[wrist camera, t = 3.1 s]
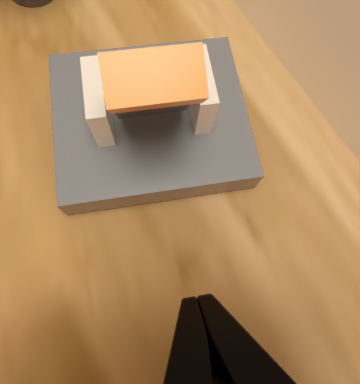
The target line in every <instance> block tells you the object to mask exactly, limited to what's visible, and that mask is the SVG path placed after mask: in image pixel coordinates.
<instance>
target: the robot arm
mask: <svg viewBox="0 0 360 384" xmlns="http://www.w3.org/2000/svg"><path fill="white" fill-rule="evenodd" d="M163 384H296V383H295V381H294V380H293V379H292V378H291V377H290V376H289V375H288V374H287V373H286V372H285V371H284V370H283V369H282V368H281V367H280V366H279V365H278V364H277V362H276V361H275V360H274V359H273V358H272V357H271V356H270V355H269V354H268V353H267V352H266V351H265V350H264V349H263V348H262V347H261V346H260V344H259V343H258V342H257V341H256V340H255V339H254V338H253V337H252V336H251V335H250V334H249V333H248V332H247V331H246V330H245V329H244V328H243V327H242V325H241V324H240V323H239V322H238V321H237V320H236V319H235V318H234V317H233V316H232V315H231V314H230V313H229V312H228V311H227V310H226V309H225V307H224V306H223V305H222V304H221V303H220V302H219V301H218V300H217V299H216V298H215V297H214V296H213V295H212V294H205V295H199V296H198V297H197V298H196V297H195V296H193V297H188V298H183V299H182V301H181V305H180V310H179V314H178V319H177V323H176V328H175V332H174V336H173V341H172V345H171V350H170V354H169V359H168V363H167V368H166V372H165V377H164V381H163Z"/></svg>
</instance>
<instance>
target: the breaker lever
mask: <svg viewBox="0 0 360 384" xmlns="http://www.w3.org/2000/svg"><path fill="white" fill-rule="evenodd" d="M97 55H98V61H99V67H100V74H101V80H102V86H103V92H104V99H105V105H106V110H107V111H108V112H109V113H110V114H116V116H117V117H118V118H119V119H121V118H129V117H137V116H145V115H154V114H162V113H170V112H178V111H185V110H186V109H187V108H188V107H189V106H190V105H191V104H198V103H203V102H204V101H206V100H207V99H208V98H209V92H208V83H207V75H206V66H205V57H204V48H203V42H197V43H187V44H177V45H167V46H157V47H147V48H137V49H128V50H118V51H108V52H98V53H97Z"/></svg>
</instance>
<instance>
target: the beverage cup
mask: <svg viewBox="0 0 360 384" xmlns="http://www.w3.org/2000/svg"><path fill="white" fill-rule="evenodd" d="M14 1H15V2H16V3H18V4H20V5H22V6H25V7H38V6H43V5H45V4H47V3H49V2H50V1H52V0H14Z"/></svg>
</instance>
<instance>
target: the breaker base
mask: <svg viewBox="0 0 360 384" xmlns="http://www.w3.org/2000/svg"><path fill="white" fill-rule="evenodd" d="M197 42H203V48H204V57H205V66H206V75H207V83H208V92H209V98H208V99H207V100H206V101H204V102H203V103H198V104H191V105H190V106H189V107H188V108H187V109H186V110H185V111H178V112H170V113H162V114H154V115H145V116H137V117H129V118H121V119H119V118H118V117H117V116H116V114H110V113H109V112H108V111H107V110H106V105H105V99H104V92H103V86H102V80H101V74H100V67H99V61H98V55H97V53H98V52H108V51H118V50H128V49H137V48H147V47H157V46H167V45H177V44H187V43H197ZM49 72H50V89H51V106H52V124H53V141H54V159H55V176H56V194H57V207H59V208H60V209H61V210H62V211H64V212H65V213H66V214H67V215H73V214H79V213H86V212H93V211H100V210H106V209H113V208H120V207H127V206H133V205H140V204H147V203H154V202H160V201H167V200H174V199H181V198H187V197H194V196H201V195H208V194H214V193H221V192H228V191H235V190H241V189H248V188H254V187H255V186H256V185H257V184H258V183H259V181H260V180H261V179H262V178H263V177H264V175H263V171H262V167H261V164H260V160H259V156H258V152H257V148H256V144H255V140H254V137H253V133H252V129H251V125H250V121H249V117H248V113H247V110H246V106H245V102H244V98H243V94H242V90H241V86H240V83H239V79H238V75H237V71H236V67H235V63H234V60H233V56H232V52H231V48H230V44H229V40H228V37H223V38H213V39H203V40H194V41H184V42H174V43H164V44H154V45H144V46H134V47H124V48H114V49H104V50H94V51H84V52H74V53H64V54H54V55H49Z"/></svg>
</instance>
